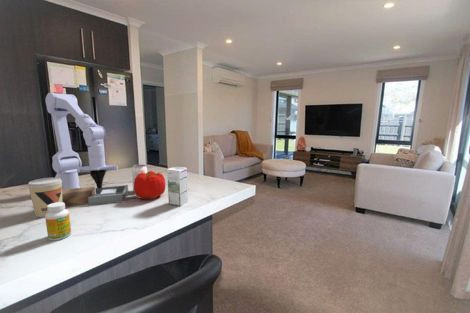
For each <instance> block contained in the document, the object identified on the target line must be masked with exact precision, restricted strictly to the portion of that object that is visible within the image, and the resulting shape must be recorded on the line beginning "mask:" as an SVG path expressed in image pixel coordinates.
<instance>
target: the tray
mask: <svg viewBox="0 0 470 313" xmlns="http://www.w3.org/2000/svg"><path fill="white" fill-rule="evenodd" d="M108 189H117V194H115V195H104V196H100V193H101V192H102V190H108ZM128 193H129V185H128V184H123V185H113V186H102V188H99V189H98V188H97V187H95V196H94V197H88V202H89V204H88V205H89V206H96V205H102V204H103V205H104V204H111V203H112V204H113V203H121V202H126V200H127V197H128Z"/></svg>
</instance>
